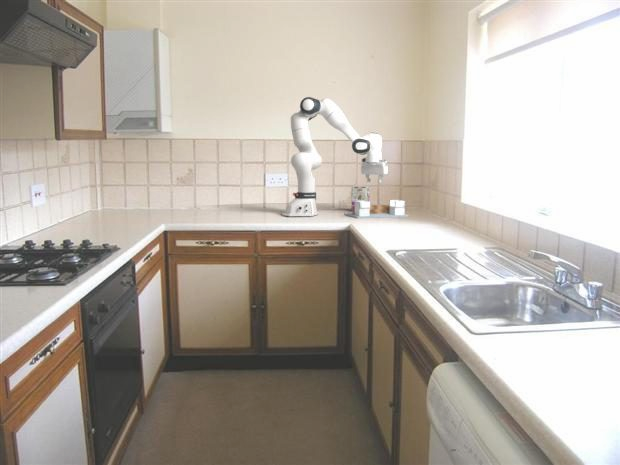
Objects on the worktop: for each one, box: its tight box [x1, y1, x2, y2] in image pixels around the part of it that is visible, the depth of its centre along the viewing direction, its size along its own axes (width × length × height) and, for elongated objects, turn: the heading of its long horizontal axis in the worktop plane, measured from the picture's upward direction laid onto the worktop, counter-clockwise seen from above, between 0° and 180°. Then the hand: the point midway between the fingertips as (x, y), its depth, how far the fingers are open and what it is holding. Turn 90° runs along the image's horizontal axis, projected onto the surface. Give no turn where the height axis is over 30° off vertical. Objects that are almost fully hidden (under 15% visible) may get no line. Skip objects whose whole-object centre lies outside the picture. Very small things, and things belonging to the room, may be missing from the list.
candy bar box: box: [351, 186, 371, 213], centre depth 350 cm, size 11×5×16 cm, turn 73°
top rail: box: [352, 204, 390, 214], centre depth 333 cm, size 26×4×5 cm, turn 109°
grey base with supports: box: [343, 199, 409, 219], centre depth 329 cm, size 34×20×10 cm, turn 109°
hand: (374, 182), depth 331 cm, fingers open, 8 cm apart
